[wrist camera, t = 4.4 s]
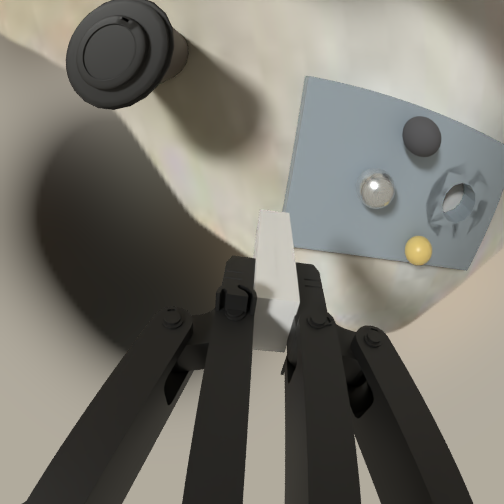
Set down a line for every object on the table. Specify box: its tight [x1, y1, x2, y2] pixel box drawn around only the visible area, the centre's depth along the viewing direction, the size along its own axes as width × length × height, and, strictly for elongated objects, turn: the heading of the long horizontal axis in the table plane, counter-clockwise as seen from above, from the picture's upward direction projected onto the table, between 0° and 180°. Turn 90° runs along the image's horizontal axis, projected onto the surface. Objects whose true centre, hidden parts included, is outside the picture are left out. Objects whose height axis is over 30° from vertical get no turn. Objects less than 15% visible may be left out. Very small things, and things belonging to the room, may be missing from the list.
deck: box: [282, 76, 504, 270], centre depth 26 cm, size 24×16×2 cm, turn 83°
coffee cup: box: [66, 0, 188, 110], centre depth 17 cm, size 8×8×10 cm
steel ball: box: [356, 168, 395, 209], centre depth 24 cm, size 4×4×4 cm
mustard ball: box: [405, 236, 432, 265], centre depth 27 cm, size 3×3×3 cm
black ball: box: [402, 116, 441, 157], centre depth 21 cm, size 4×4×4 cm
